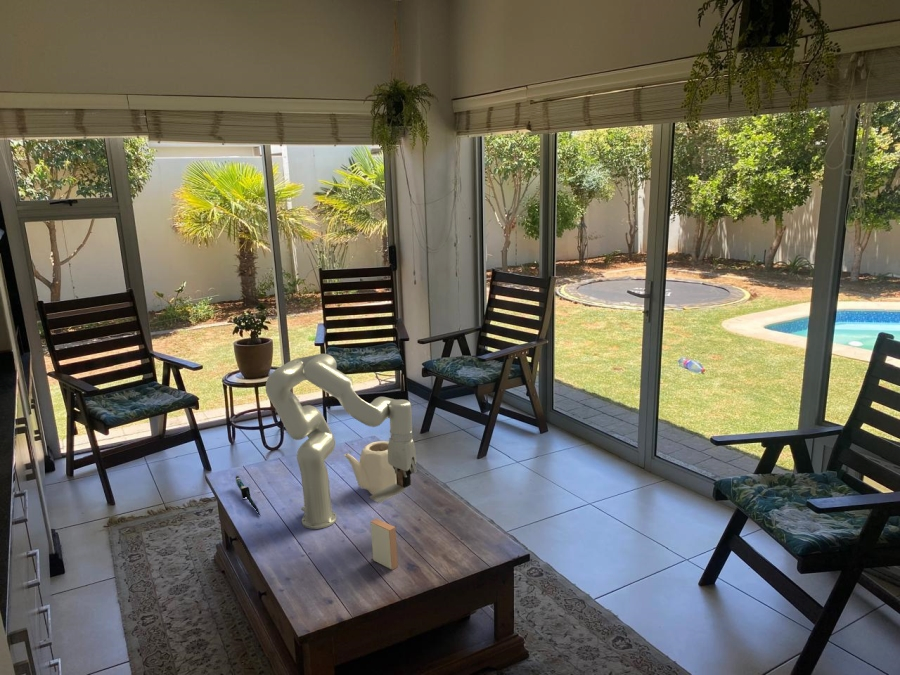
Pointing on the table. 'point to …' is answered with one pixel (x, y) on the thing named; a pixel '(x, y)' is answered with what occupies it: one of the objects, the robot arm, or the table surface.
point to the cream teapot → (373, 467)
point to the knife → (245, 492)
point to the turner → (390, 489)
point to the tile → (384, 543)
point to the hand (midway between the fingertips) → (403, 484)
